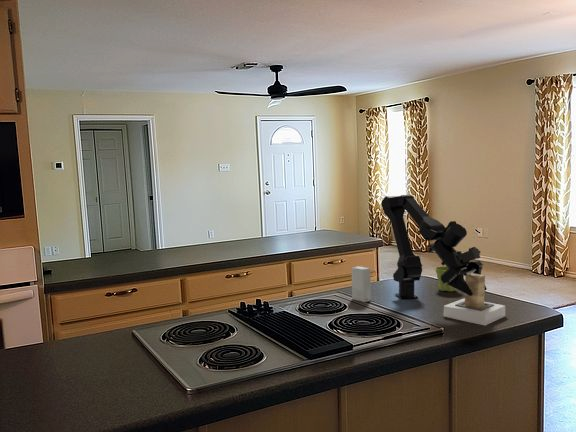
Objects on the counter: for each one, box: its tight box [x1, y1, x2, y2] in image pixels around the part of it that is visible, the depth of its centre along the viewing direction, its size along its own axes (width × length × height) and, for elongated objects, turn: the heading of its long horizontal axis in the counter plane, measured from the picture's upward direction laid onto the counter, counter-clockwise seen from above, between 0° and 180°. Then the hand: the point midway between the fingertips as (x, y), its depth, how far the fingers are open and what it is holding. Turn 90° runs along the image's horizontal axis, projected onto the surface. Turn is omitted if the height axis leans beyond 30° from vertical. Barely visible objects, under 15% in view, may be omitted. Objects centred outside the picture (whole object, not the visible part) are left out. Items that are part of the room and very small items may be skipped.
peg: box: [464, 273, 486, 308], centre depth 166 cm, size 4×4×13 cm
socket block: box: [443, 297, 506, 326], centre depth 166 cm, size 14×14×4 cm
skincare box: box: [350, 265, 372, 303], centre depth 188 cm, size 6×4×12 cm
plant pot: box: [434, 265, 456, 292], centre depth 202 cm, size 9×9×9 cm
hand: (478, 292), depth 165 cm, fingers open, 9 cm apart
